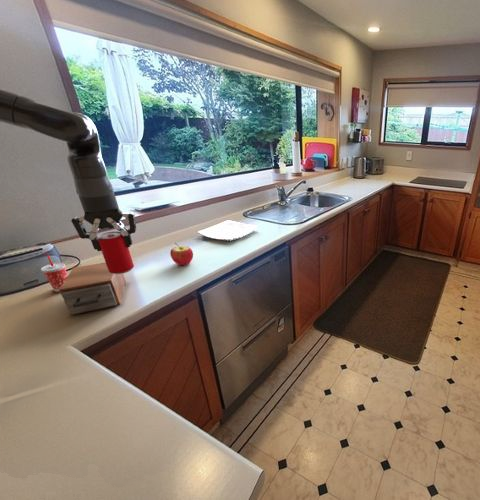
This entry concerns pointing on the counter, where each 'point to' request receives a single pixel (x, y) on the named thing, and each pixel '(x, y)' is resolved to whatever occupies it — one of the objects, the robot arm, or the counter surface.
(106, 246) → the beverage can
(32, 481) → the counter surface
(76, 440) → the counter surface
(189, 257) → the apple
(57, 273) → the beverage cup
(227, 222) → the plate
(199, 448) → the counter surface
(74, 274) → the cabinet
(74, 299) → the drawer
